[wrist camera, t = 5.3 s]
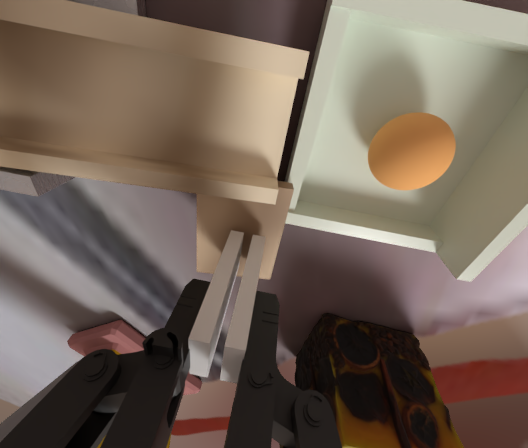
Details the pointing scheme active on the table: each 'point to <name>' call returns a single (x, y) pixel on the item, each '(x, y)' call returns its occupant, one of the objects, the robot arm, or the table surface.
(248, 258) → the robot arm
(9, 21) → the beige piece
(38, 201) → the table surface
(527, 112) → the tray
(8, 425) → the pink yellow-faced device
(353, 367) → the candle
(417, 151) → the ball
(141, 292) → the table surface
